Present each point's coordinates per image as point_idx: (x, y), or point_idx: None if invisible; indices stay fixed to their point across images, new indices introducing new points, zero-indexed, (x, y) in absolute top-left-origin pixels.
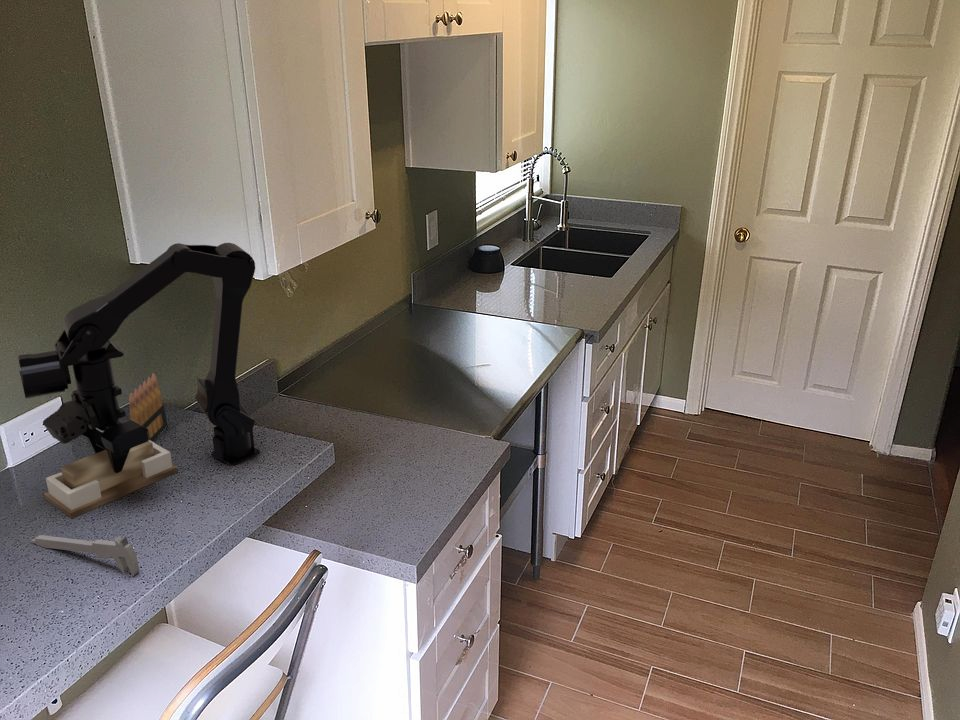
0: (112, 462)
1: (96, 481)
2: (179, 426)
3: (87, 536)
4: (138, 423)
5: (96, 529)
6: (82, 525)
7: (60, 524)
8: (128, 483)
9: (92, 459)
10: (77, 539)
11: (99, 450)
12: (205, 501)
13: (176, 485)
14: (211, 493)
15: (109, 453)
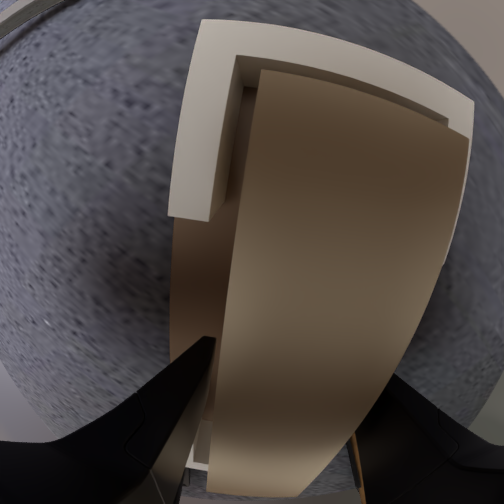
0: (162, 378)
1: (185, 211)
2: (340, 477)
3: (78, 51)
4: (361, 500)
5: (80, 84)
6: (135, 60)
7: (212, 17)
8: (202, 325)
9: (348, 346)
10: (19, 8)
11: (381, 412)
12: (27, 338)
13: (117, 373)
14: (46, 365)
15: (115, 436)
